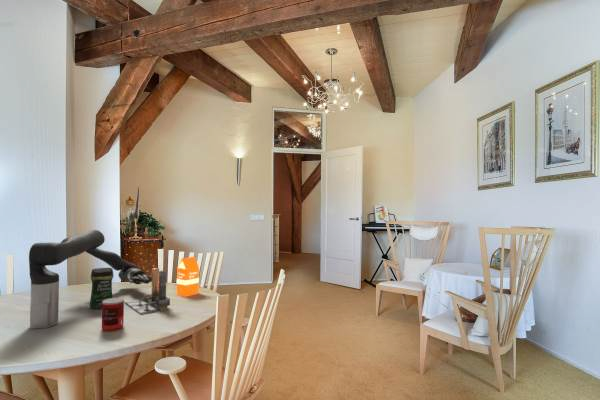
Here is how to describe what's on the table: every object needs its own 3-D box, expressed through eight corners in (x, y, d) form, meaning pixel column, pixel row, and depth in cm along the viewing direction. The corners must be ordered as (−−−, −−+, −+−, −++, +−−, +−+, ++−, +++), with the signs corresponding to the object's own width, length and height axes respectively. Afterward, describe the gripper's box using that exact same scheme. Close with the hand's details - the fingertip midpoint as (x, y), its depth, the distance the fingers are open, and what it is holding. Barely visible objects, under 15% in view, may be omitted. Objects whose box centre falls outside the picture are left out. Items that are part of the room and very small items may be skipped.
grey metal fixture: (169, 308, 162) (170, 271, 163) (140, 314, 153) (141, 274, 154) (151, 298, 181) (151, 264, 181) (124, 302, 172) (124, 267, 172)
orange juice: (198, 293, 192) (199, 257, 192) (185, 296, 185) (186, 259, 185) (189, 291, 196) (190, 256, 197) (176, 294, 189) (176, 257, 189)
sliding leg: (162, 302, 169) (162, 268, 170) (140, 306, 162) (140, 271, 163) (158, 300, 173) (159, 267, 173) (137, 303, 166) (137, 269, 166)
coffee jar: (90, 310, 159) (91, 270, 160) (88, 306, 165) (89, 267, 166) (114, 307, 165) (115, 268, 166) (111, 303, 171) (112, 265, 172)
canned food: (118, 323, 142) (118, 296, 142) (127, 327, 137) (127, 300, 137) (98, 328, 136) (98, 300, 136) (106, 333, 131) (106, 304, 131)
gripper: (124, 270, 187) (133, 276, 174) (149, 268, 196) (160, 272, 183) (123, 284, 187) (133, 290, 174) (149, 281, 196) (160, 286, 183)
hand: (147, 281), depth 179 cm, fingers closed
